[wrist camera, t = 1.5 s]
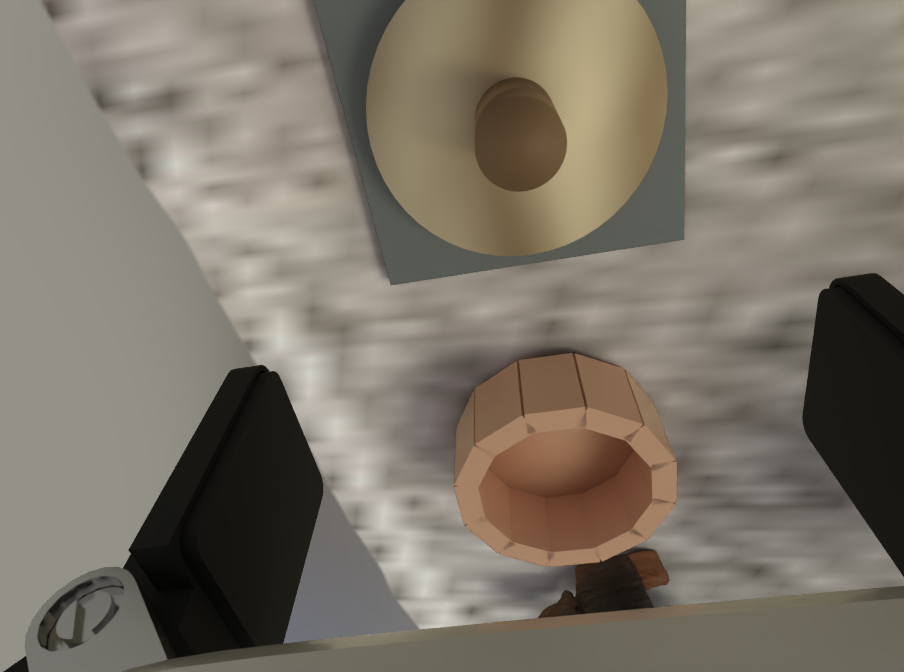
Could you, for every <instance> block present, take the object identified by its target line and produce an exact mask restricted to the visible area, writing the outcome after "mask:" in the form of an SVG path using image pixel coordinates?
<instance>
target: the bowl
mask: <svg viewBox="0 0 904 672" xmlns="http://www.w3.org/2000/svg"><path fill="white" fill-rule="evenodd" d="M454 489H455V493H456V496H457V500H458V504H459V508H460V512H461V516H462V520H463V523H464V524H465V527H467V528H468V529H469V530H470V531H471V532H473V533H474V534H475V535H476V536H477V537H479V538H480V539H481V540H482V541H483V542H485V543H486V544H487V545H488V546H489V547H491V548H492V549H493V550H494V551H495V552H497V553H500V555H504V556H508V557H511V558H515V559H519V560H523V561H527V562H531V563H534V564H538V565H542V566H546V567H547V565H548V564H549V567H554V566H564V565H575V564H586V563H596V562H600V560H602V561H605V560H607V559H609V558H611V557H613V556H615V555H617V554H619V553H621V552H623V551H625V550H627V549H630V548H632V547H634V546H636V545H638V544H640V543H642V542H644V541H646V540H647V538H648V539H649V538H650V537H651V535H652V534H653V533H654V531H655V530H656V529H657V528H658V526H659V525H660V524H661V523H662V521H663V520H664V519H665V517H666V516H667V515H668V514H669V512H670V511H671V510H672V508H673V507H674V506H675V505H676V503H675V502H677V461H676V459H675V456H674V454H673V451H672V449H671V446H670V444H669V441H668V438H667V436H666V433H665V431H664V428H663V426H662V423H661V421H660V418H659V415H658V413H657V410H656V408H655V405H654V403H653V401H652V400H651V399H650V398H649V397H648V395H647V394H646V393H645V392H644V391H643V390H642V389H641V387H640V386H639V385H638V384H637V383H636V382H635V380H634V379H633V378H632V377H631V376H630V375H629V373H628V372H627V371H626V370H624V369H623V368H620V367H617V366H614V365H611V364H608V363H605V362H601V361H598V360H595V359H592V358H589V357H586V356H583V355H579V354H576V353H575V354H574V356H573V354H572V353H567V354H560V355H553V356H545V357H538V358H531V359H523V360H519V363H518V362H517V361H516V362H514V363H512V364H511V365H509V366H508V367H506V368H505V369H503V370H502V371H500V372H499V373H497V374H496V375H494V376H493V377H491V378H490V379H488V380H487V381H485V382H484V383H482V384H481V385H479V386H478V387H476V388H475V390H473V392H472V395H471V397H470V399H469V401H468V403H467V405H466V408H465V410H464V412H463V414H462V416H461V418H460V420H459V423H458V425H457V429H456V450H455V475H454Z"/></svg>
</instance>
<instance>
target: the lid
mask: <svg viewBox="0 0 904 672" xmlns="http://www.w3.org/2000/svg"><path fill="white" fill-rule="evenodd" d="M667 94H668V89H667V75H666V67H665V63H664V58H663V53H662V49H661V46H660V43H659V40H658V38H657V35H656V32H655V29H654V27H653V26H652V24H651V22H650V20H649V18H648V16H647V14H646V12H645V10H644V9H643V8H642V6H641V5H640V4H639V2H638V1H637V0H405V1H404V3H403V4H402V5H401V6H400V7H399V9H398V10H397V12H396V13H395V15H394V16H393V18H392V19H391V21H390V23H389V24H388V26H387V28H386V30H385V32H384V34H383V36H382V38H381V40H380V42H379V44H378V47H377V50H376V53H375V56H374V59H373V62H372V65H371V69H370V74H369V80H368V85H367V97H366V118H367V129H368V135H369V140H370V145H371V149H372V152H373V155H374V158H375V161H376V164H377V167H378V169H379V171H380V173H381V175H382V177H383V179H384V182H385V183H386V185H387V186H388V188H389V190H390V191H391V193H392V194H393V196H394V197H395V199H396V200H397V201H398V202H399V204H400V205H401V206H402V207H403V208H404V210H405V211H406V212H407V213H408V214H409V215H410V216H411V217H412V218H413V219H415V220H416V221H417V222H418V223H419V224H420V225H421V226H423V227H424V228H426V229H427V230H428V231H430V232H431V233H432V234H434V235H436V236H438V237H439V238H441V239H443V240H445V241H446V242H448V243H451V244H453V245H456V246H458V247H461V248H463V249H466V250H470V251H474V252H477V253H482V254H489V255H496V256H522V255H532V254H537V253H542V252H546V251H550V250H553V249H556V248H559V247H562V246H565V245H567V244H569V243H572V242H574V241H576V240H578V239H580V238H582V237H584V236H585V235H587V234H589V233H590V232H592V231H593V230H595V229H596V228H598V227H599V226H601V225H602V224H603V223H604V222H606V221H607V220H608V219H609V218H611V217H612V216H613V215H614V214H615V213H616V212H617V211H618V210H619V209H620V208H621V207H622V206H623V205H624V204H625V203H626V202H627V200H628V199H629V198H630V197H631V195H632V194H633V193H634V191H635V190H636V189H637V188H638V186H639V184H640V183H641V181H642V180H643V178H644V176H645V175H646V173H647V171H648V170H649V167H650V165H651V163H652V161H653V159H654V156H655V154H656V152H657V149H658V146H659V143H660V139H661V136H662V133H663V128H664V123H665V117H666V111H667Z"/></svg>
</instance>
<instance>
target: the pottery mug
mask: <svg viewBox="0 0 904 672" xmlns="http://www.w3.org/2000/svg"><path fill="white" fill-rule="evenodd" d="M575 572H576V596H575V597H574V596H573V594H572V593H571V592H569V591H567V590H565V591H564V592H563V593H562V595H561V599H560V600H559V601H558V602H557V603H555V604H553V605H551V606H549V607H547V608H546V609H544V610H543V612H542V613H541V615H540V616H539V617H538V618H547V617H558V616H569V615H579V614H590V613H601V612H612V611H623V610H634V609H645V608H654V606H653V605H652V603H651V600H650V598H649V597H648V596H647V594H646V590H649V589H650V588H652V587H656V586H660V585H666V584H667V583H668V582H669V576H668V573H667V571H666V570H665V568H664V567H663V565H662V562H661V560H660V559H659V557H658V555H657V552H656V551H654V550H652V551H648V550H645V551H637V552H635V553H629V554H622V555H618V556H613V557H611V558H609V559H607V560H605V561H602V560H600V562H596V563H586V564H582V565H580V566H578V567H576V569H575Z"/></svg>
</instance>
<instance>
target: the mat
mask: <svg viewBox="0 0 904 672" xmlns="http://www.w3.org/2000/svg"><path fill="white" fill-rule="evenodd" d="M404 1H405V0H314V3H315V7H316V10H317V14H318V18H319V21H320V25H321V29H322V33H323V36H324V40H325V44H326V47H327V51H328V55H329V59H330V62H331V66H332V70H333V73H334V77H335V81H336V84H337V88H338V92H339V96H340V99H341V103H342V107H343V110H344V114H345V118H346V122H347V125H348V129H349V133H350V136H351V140H352V144H353V148H354V151H355V155H356V159H357V162H358V166H359V170H360V173H361V177H362V181H363V185H364V188H365V192H366V196H367V199H368V203H369V207H370V211H371V214H372V218H373V222H374V225H375V229H376V233H377V237H378V240H379V244H380V248H381V251H382V255H383V259H384V263H385V266H386V270H387V274H388V277H389V281H390V285H396V284H402V283H409V282H415V281H422V280H428V279H435V278H441V277H447V276H454V275H460V274H467V273H473V272H479V271H486V270H492V269H499V268H505V267H512V266H518V265H524V264H531V263H537V262H544V261H550V260H556V259H563V258H569V257H576V256H582V255H589V254H595V253H601V252H608V251H614V250H621V249H627V248H633V247H640V246H646V245H653V244H659V243H666V242H672V241H678V240H684V187H685V59H686V0H637V1H638V2H639V4H640V5H641V6H642V8H643V9H644V10H645V12H646V14H647V16H648V18H649V20H650V22H651V24H652V26H653V27H654V29H655V32H656V35H657V38H658V40H659V43H660V46H661V49H662V53H663V58H664V63H665V67H666V75H667V89H668V94H667V111H666V117H665V123H664V128H663V133H662V136H661V139H660V143H659V146H658V149H657V152H656V154H655V156H654V159H653V161H652V163H651V165H650V167H649V170H648V171H647V173H646V175H645V176H644V178H643V180H642V181H641V183H640V184H639V186H638V188H637V189H636V190H635V191H634V193H633V194H632V195H631V197H630V198H629V199H628V200H627V202H626V203H625V204H624V205H623V206H622V207H621V208H620V209H619V210H618V211H617V212H616V213H615V214H614V215H613V216H612V217H611V218H609V219H608V220H607V221H606V222H604V223H603V224H602V225H601V226H599V227H598V228H596V229H595V230H593V231H592V232H590V233H589V234H587V235H585V236H584V237H582V238H580V239H578V240H576V241H574V242H572V243H569V244H567V245H565V246H562V247H559V248H556V249H553V250H550V251H546V252H542V253H537V254H532V255H522V256H496V255H489V254H482V253H477V252H474V251H470V250H466V249H463V248H461V247H458V246H456V245H453V244H451V243H448V242H446V241H445V240H443V239H441V238H439V237H438V236H436V235H434V234H432V233H431V232H430V231H428V230H427V229H426V228H424V227H423V226H421V225H420V224H419V223H418V222H417V221H416V220H415V219H413V218H412V217H411V216H410V215H409V214H408V213H407V212H406V211H405V210H404V208H403V207H402V206H401V205H400V204H399V202H398V201H397V200H396V199H395V197H394V196H393V194H392V193H391V191H390V190H389V188H388V186H387V185H386V183H385V182H384V179H383V177H382V175H381V173H380V171H379V169H378V167H377V164H376V161H375V158H374V155H373V152H372V149H371V145H370V140H369V135H368V129H367V118H366V97H367V85H368V80H369V74H370V69H371V65H372V62H373V59H374V56H375V53H376V50H377V47H378V44H379V42H380V40H381V38H382V36H383V34H384V32H385V30H386V28H387V26H388V24H389V23H390V21H391V19H392V18H393V16H394V15H395V13H396V12H397V10H398V9H399V7H400V6H401V5H402V4H403V3H404Z"/></svg>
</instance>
